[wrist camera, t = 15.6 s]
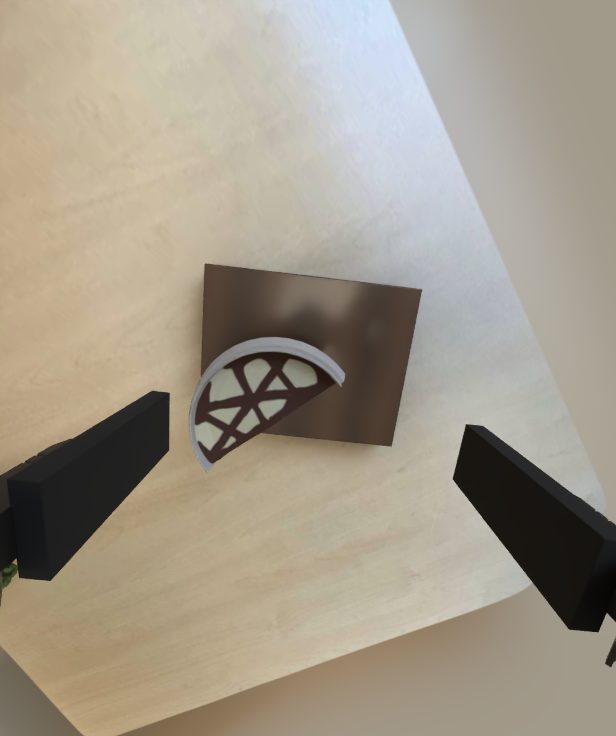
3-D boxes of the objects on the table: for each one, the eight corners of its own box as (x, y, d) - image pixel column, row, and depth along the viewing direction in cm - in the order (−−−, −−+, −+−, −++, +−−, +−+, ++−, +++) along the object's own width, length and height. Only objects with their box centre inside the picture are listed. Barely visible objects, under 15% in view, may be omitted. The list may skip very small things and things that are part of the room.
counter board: (411, 289, 31) (422, 289, 29) (384, 434, 35) (391, 446, 32) (214, 266, 31) (204, 263, 28) (208, 415, 35) (198, 426, 32)
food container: (298, 299, 29) (294, 302, 19) (335, 352, 30) (349, 381, 20) (195, 371, 30) (142, 409, 21) (233, 420, 32) (201, 477, 22)
